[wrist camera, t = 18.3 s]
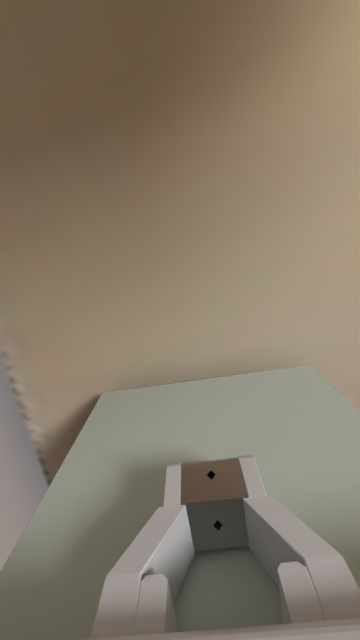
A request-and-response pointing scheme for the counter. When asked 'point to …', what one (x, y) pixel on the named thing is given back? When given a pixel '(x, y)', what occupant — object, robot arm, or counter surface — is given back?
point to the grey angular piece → (148, 491)
